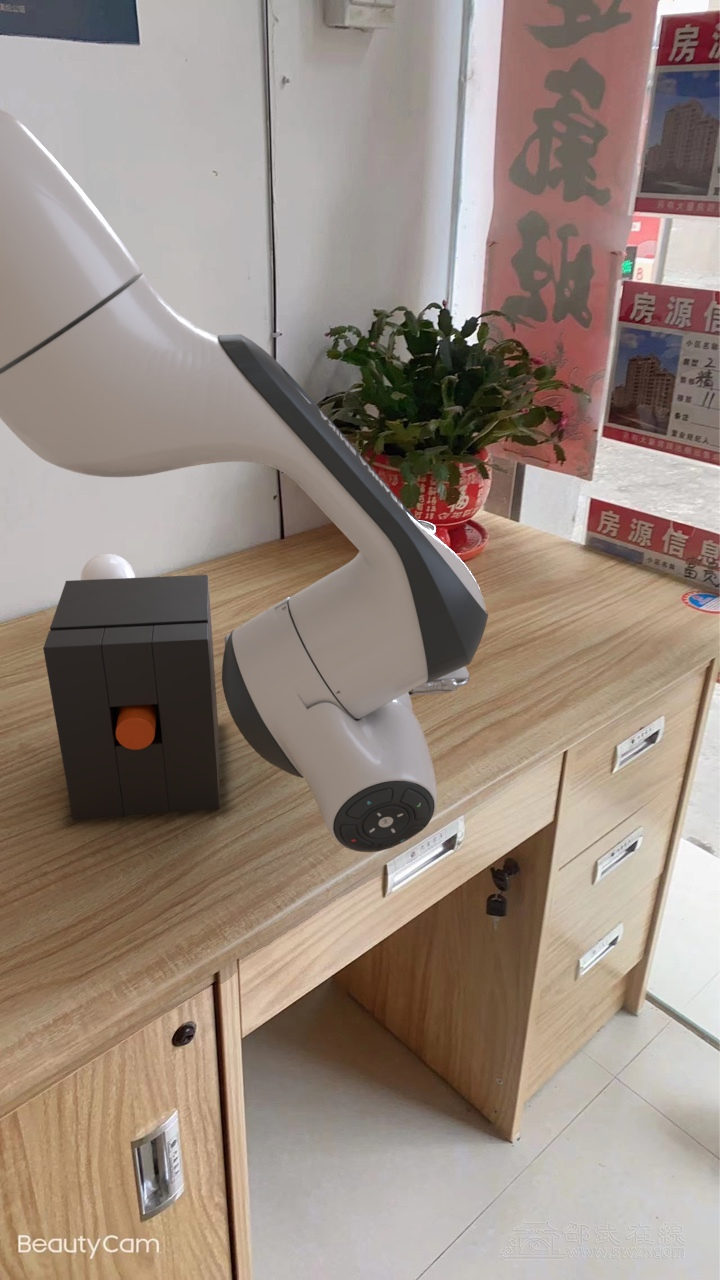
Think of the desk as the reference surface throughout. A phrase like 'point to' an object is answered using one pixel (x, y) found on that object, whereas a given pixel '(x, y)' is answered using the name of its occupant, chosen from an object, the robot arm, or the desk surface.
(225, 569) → the desk surface
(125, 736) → the button
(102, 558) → the lightbulb
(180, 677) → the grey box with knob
